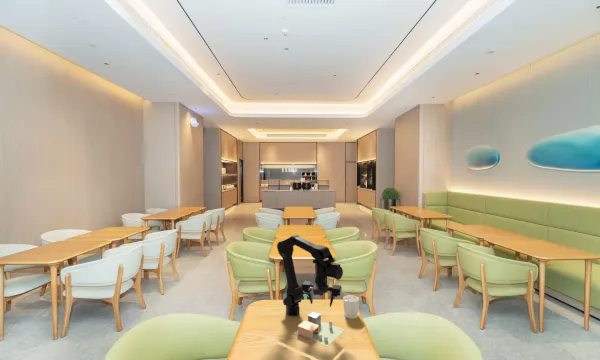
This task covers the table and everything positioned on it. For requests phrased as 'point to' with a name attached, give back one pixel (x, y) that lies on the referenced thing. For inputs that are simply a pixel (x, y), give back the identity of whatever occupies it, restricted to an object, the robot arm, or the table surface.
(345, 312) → the white cup
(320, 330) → the board
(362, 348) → the table surface
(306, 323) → the cover
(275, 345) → the table surface
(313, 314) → the gray metal block
